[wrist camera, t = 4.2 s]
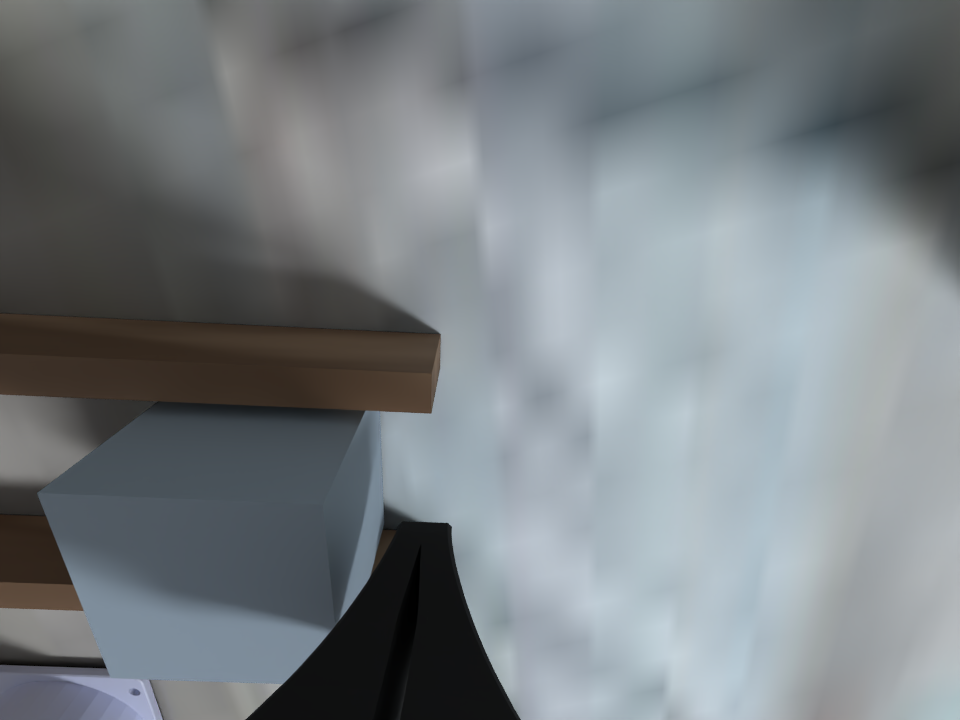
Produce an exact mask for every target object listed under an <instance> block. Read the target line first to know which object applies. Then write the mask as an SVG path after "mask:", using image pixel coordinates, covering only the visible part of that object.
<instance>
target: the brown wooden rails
mask: <svg viewBox="0 0 960 720" xmlns="http://www.w3.org/2000/svg"><path fill="white" fill-rule="evenodd" d="M440 340H441V334H425V333H404V332H383V331H362V330H341V329H320V328H299V327H278V326H257V325H236V324H215V323H194V322H173V321H152V320H131V319H110V318H89V317H67V316H46V315H25V314H4V313H0V394H3V395H26V396H48V397H71V398H94V399H116V400H139V401H161V402H184V403H206V404H229V405H252V406H274V407H297V408H319V409H342V410H365V411H387V412H410V413H431V412H432V407H433V402H434V397H435V392H436V386H437V381H438V376H439V371H440ZM396 531H397V530H382V534H381V537H380V541H379V545H378V549H377V553H376V556H375V560H374V564H373V568H372V572H371V575H372V573H373V572H374V570H375V569H376V567H377V565H378V564H379V562H380V561H381V559H382V557H383V555H384V554H385V552H386V550H387V548H388V546H389V545H390V543H391V541H392V539H393V537H394V535H395V533H396ZM371 575H370V576H371ZM0 608H20V609H48V610H76V611H84V610H83V607H82V605H81V602H80V600H79V597H78V595H77V592H76V590H75V587H74V585H73V582H72V580H71V577H70V575H69V572H68V570H67V567H66V565H65V562H64V560H63V557H62V555H61V552H60V550H59V547H58V545H57V542H56V540H55V537H54V535H53V532H52V530H51V527H50V525H49V522H48V520H47V517H46V516H26V515H0Z"/></svg>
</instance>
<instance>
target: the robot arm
mask: <svg viewBox="0 0 960 720" xmlns="http://www.w3.org/2000/svg"><path fill="white" fill-rule="evenodd" d="M451 532H452V527H451V526H450V525H449V524H448V523H432V522H407V521H403V522H402V523H400V524H399V526H398V528H397V531H396V533H395V535H394V537H393V539H392V541H391V543H390V545H389V546H388V548H387V550H386V552H385V554H384V555H383V557H382V559H381V561H380V562H379V564H378V565H377V567H376V569H375V570H374V572H373V573H372V575H371V576H370V578H369V580H368V581H367V583H366V584H365V586H364V587H363V589H362V590H361V591H360V593H359V594H358V596H357V597H356V598H355V600H354V601H353V603H352V604H351V605H350V607H349V608H348V610H347V611H346V612H345V614H344V615H343V616H342V618H341V619H340V620H339V622H338V623H337V624H336V625H335V627H334V628H333V629H332V630H331V632H330V633H329V634H328V635H327V636H326V638H325V639H324V640H323V641H322V642H321V643H320V645H319V646H318V647H317V648H316V649H315V650H314V651H313V653H312V654H311V655H310V656H309V657H308V658H307V659H306V660H305V661H304V662H303V664H302V665H301V666H300V667H299V668H298V669H297V670H296V671H295V672H294V673H293V674H292V675H291V676H290V677H289V678H288V679H287V680H286V682H285V683H284V684H283V685H281V686H280V687H279V688H278V689H277V690H276V691H275V692H274V693H273V694H272V695H271V696H270V697H269V698H268V699H267V700H266V701H265V702H264V703H263V704H262V705H261V706H260V707H259V708H257V709H256V710H255V711H254V712H253V713H252V714H251V715H250V716H249V717H248V718H247V719H246V720H521V719H520V718H519V716H518V714H517V713H516V711H515V709H514V707H513V706H512V704H511V702H510V700H509V698H508V696H507V694H506V692H505V690H504V689H503V687H502V685H501V683H500V681H499V679H498V677H497V675H496V673H495V671H494V669H493V667H492V665H491V663H490V661H489V658H488V656H487V654H486V652H485V649H484V647H483V645H482V643H481V640H480V638H479V635H478V633H477V630H476V628H475V625H474V623H473V620H472V617H471V614H470V611H469V609H468V606H467V603H466V600H465V596H464V593H463V590H462V586H461V583H460V579H459V575H458V572H457V567H456V563H455V558H454V553H453V546H452V535H451ZM0 720H163V719H162V716H161V713H160V710H159V707H158V704H157V701H156V699H155V696H154V693H153V690H152V687H151V684H150V681H149V679H120V678H110V675H109V673H108V670H107V668H78V667H48V666H18V665H0Z"/></svg>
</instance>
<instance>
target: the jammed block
mask: <svg viewBox="0 0 960 720" xmlns="http://www.w3.org/2000/svg"><path fill="white" fill-rule="evenodd" d="M37 495H38V497H39V500H40V502H41V505H42V507H43V510H44V512H45V515H46V517H47V520H48V522H49V525H50V527H51V530H52V532H53V535H54V537H55V540H56V542H57V545H58V547H59V550H60V552H61V555H62V557H63V560H64V562H65V565H66V567H67V570H68V572H69V575H70V577H71V580H72V582H73V585H74V587H75V590H76V592H77V595H78V597H79V600H80V602H81V605H82V607H83V610H84V612H85V615H86V617H87V620H88V622H89V625H90V627H91V630H92V632H93V635H94V637H95V640H96V642H97V645H98V647H99V650H100V652H101V655H102V658H103V660H104V663H105V665H106V668H107V670H108V673H109V675H110V678H120V679H150V680H181V681H211V682H241V683H271V684H284V683H285V682H286V680H287V679H288V678H289V677H290V676H291V675H292V674H293V673H294V672H295V671H296V670H297V669H298V668H299V667H300V666H301V665H302V664H303V662H304V661H305V660H306V659H307V658H308V657H309V656H310V655H311V654H312V653H313V651H314V650H315V649H316V648H317V647H318V646H319V645H320V643H321V642H322V641H323V640H324V639H325V638H326V636H327V635H328V634H329V633H330V632H331V630H332V629H333V628H334V627H335V625H336V624H337V623H338V622H339V620H340V619H341V618H342V616H343V615H344V614H345V612H346V611H347V610H348V608H349V607H350V605H351V604H352V603H353V601H354V600H355V598H356V597H357V596H358V594H359V593H360V591H361V590H362V589H363V587H364V586H365V584H366V583H367V581H368V580H369V578H370V575H371V572H372V568H373V564H374V560H375V556H376V553H377V549H378V545H379V541H380V537H381V534H382V530H383V526H384V505H383V479H382V453H381V427H380V411H365V410H342V409H319V408H297V407H274V406H252V405H229V404H206V403H184V402H161V401H158V402H157V403H156V404H154V405H153V406H152V407H150V408H149V409H148V410H146V411H145V412H144V413H142V414H141V415H140V416H138V417H137V418H136V419H134V420H133V421H132V422H130V423H129V424H128V425H126V426H125V427H124V428H122V429H121V430H120V431H118V432H117V433H116V434H114V435H113V436H112V437H111V438H109V439H108V440H107V441H105V442H104V443H103V444H101V445H100V446H99V447H97V448H96V449H95V450H93V451H92V452H91V453H89V454H88V455H87V456H85V457H84V458H83V459H81V460H80V461H79V462H77V463H76V464H75V465H73V466H72V467H71V468H69V469H68V470H67V471H65V472H64V473H63V474H62V475H60V476H59V477H58V478H56V479H55V480H54V481H52V482H51V483H50V484H48V485H47V486H46V487H44V488H43V489H42V490H40V491H39V492H38V493H37Z"/></svg>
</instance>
